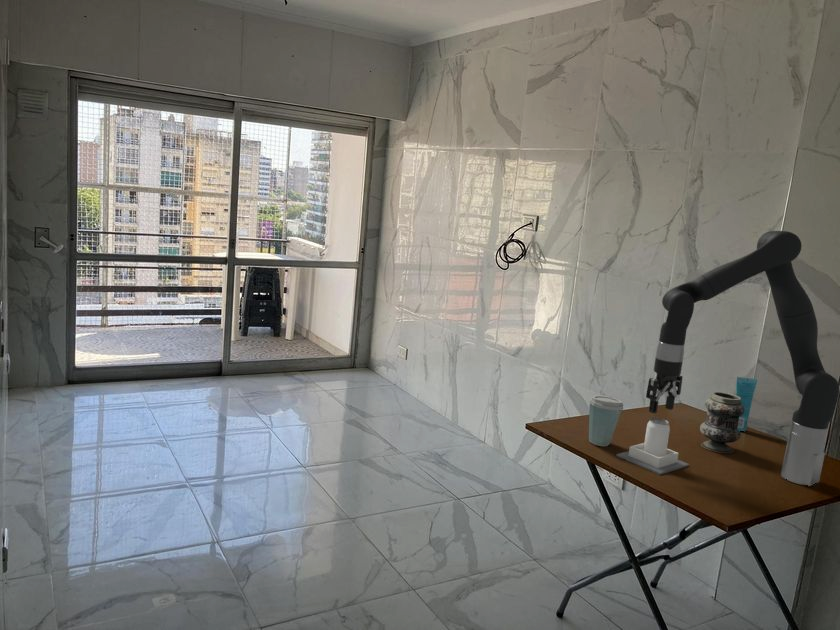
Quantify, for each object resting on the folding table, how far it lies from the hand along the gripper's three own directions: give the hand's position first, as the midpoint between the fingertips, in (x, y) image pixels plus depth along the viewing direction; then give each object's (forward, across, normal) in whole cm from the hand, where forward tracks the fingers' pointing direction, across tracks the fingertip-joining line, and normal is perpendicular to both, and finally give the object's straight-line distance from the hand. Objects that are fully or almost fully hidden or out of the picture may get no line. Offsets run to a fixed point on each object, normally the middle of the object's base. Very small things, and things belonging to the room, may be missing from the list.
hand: (660, 410), depth 202 cm
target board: (+16, 0, 0) cm, 16 cm away
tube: (+16, +59, +4) cm, 61 cm away
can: (+15, 0, 0) cm, 15 cm away
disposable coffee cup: (+16, -3, +17) cm, 24 cm away
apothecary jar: (+16, +32, -3) cm, 36 cm away
